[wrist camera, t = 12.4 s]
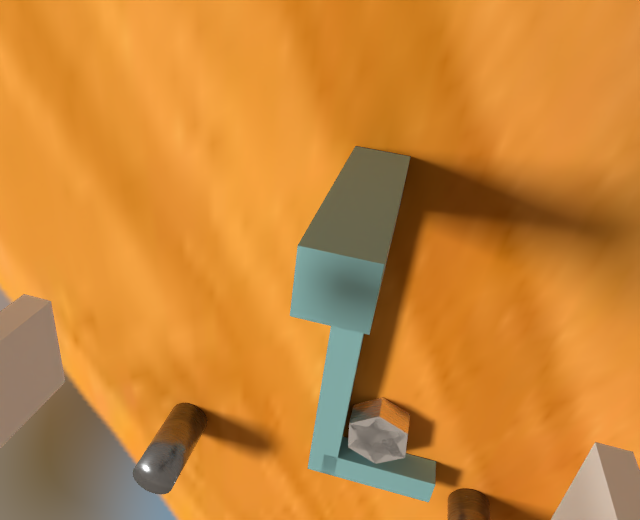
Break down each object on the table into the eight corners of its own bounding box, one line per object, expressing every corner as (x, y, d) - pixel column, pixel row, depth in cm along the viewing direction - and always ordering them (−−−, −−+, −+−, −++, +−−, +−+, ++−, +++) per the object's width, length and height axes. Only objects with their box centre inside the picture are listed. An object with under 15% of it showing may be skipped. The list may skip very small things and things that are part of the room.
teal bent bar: (355, 146, 28) (297, 245, 18) (535, 179, 26) (587, 309, 16) (307, 445, 40) (257, 607, 30) (429, 479, 39) (420, 660, 28)
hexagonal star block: (411, 400, 36) (409, 421, 34) (406, 446, 38) (403, 469, 36) (354, 390, 36) (349, 411, 35) (352, 437, 39) (347, 458, 37)
